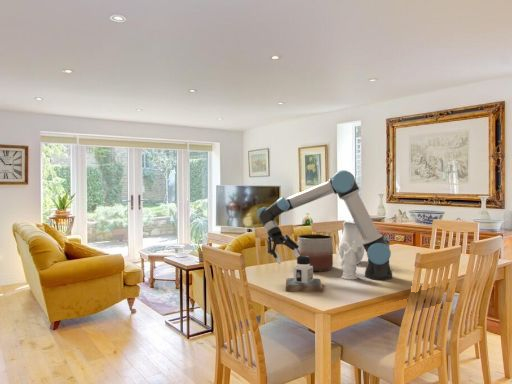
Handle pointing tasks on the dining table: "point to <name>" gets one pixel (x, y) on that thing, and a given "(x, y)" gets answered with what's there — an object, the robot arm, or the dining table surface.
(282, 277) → the dining table surface
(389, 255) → the robot arm
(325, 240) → the planter
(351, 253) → the cherub figurine
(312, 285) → the wooden framed tray
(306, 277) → the container
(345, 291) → the dining table surface
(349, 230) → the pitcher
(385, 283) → the dining table surface
